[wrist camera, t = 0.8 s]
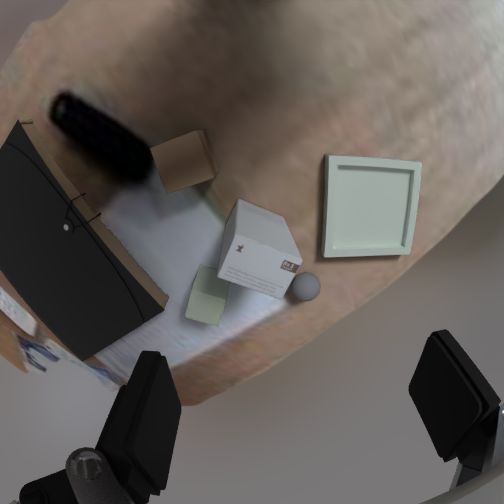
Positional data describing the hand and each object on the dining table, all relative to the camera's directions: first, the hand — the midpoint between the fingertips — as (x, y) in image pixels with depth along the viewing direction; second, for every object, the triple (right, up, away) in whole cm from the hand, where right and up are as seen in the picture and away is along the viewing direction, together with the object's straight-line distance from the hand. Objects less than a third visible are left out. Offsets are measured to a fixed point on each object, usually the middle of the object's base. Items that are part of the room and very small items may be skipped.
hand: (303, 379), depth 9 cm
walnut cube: (-8, +15, +22) cm, 28 cm away
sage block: (-7, 0, +28) cm, 29 cm away
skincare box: (-1, +8, +25) cm, 26 cm away
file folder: (-32, +5, +27) cm, 42 cm away
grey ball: (+5, +1, +28) cm, 29 cm away
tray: (+13, +10, +24) cm, 29 cm away
